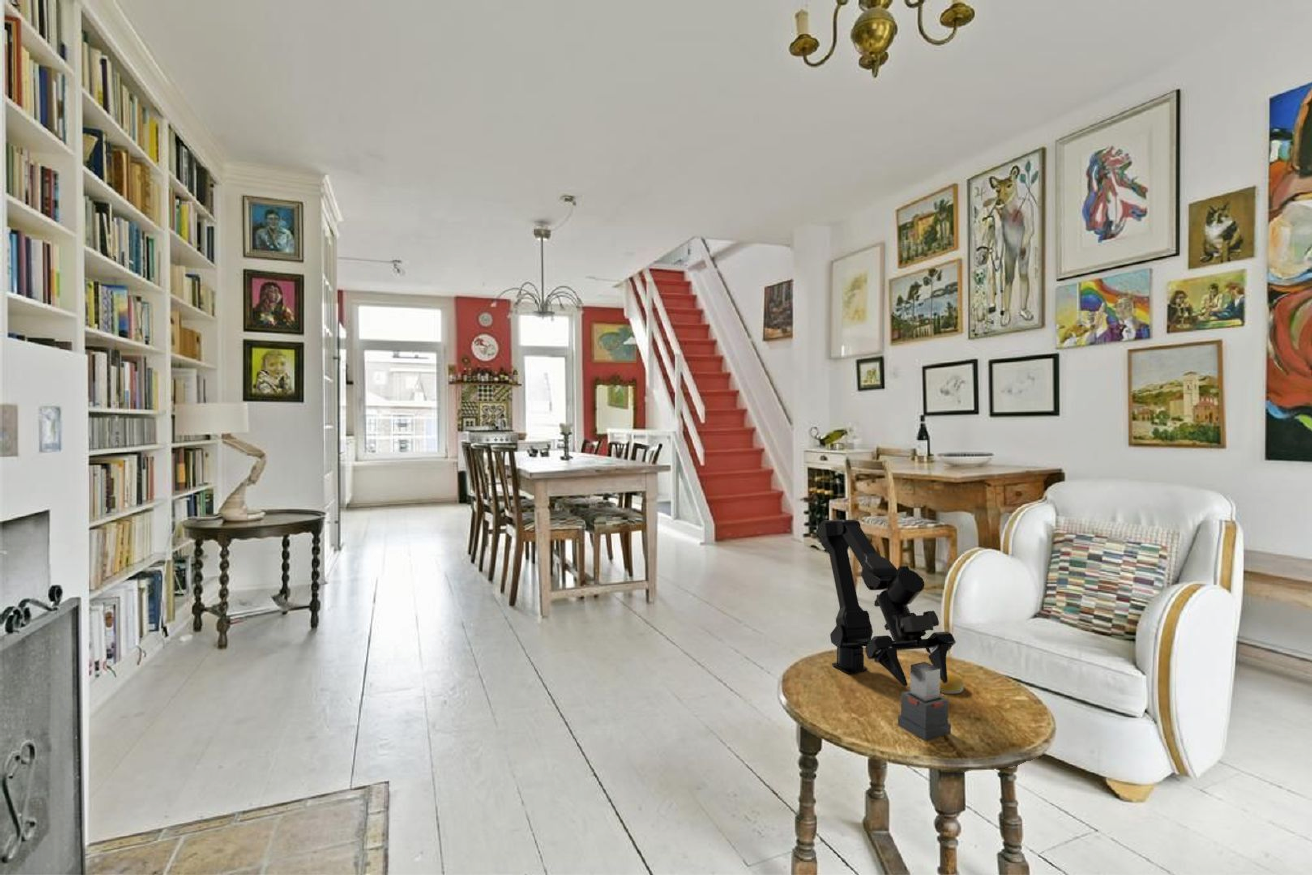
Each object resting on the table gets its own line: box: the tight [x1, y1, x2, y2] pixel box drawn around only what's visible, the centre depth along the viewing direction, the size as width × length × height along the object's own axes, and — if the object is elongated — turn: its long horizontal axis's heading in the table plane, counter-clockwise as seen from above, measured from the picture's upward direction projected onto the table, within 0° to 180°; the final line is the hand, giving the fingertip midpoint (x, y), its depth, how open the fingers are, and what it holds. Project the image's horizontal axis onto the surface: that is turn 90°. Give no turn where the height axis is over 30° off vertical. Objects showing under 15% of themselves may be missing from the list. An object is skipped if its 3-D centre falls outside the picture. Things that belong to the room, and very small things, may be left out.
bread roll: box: [940, 672, 965, 695], centre depth 153 cm, size 8×9×4 cm
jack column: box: [909, 661, 941, 703], centre depth 132 cm, size 4×4×11 cm
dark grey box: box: [897, 690, 952, 742], centre depth 132 cm, size 7×7×7 cm
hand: (925, 683), depth 132 cm, fingers open, 9 cm apart
